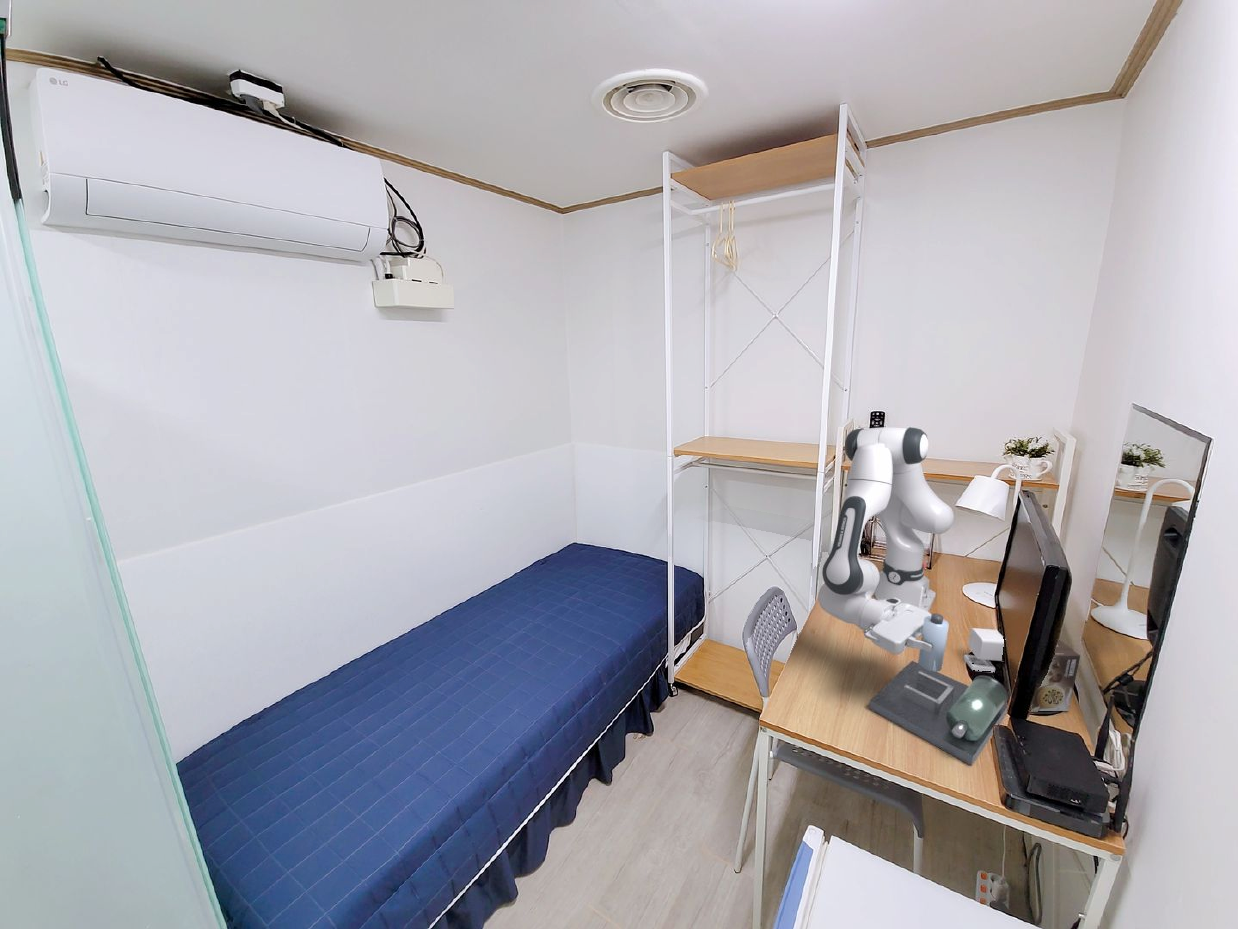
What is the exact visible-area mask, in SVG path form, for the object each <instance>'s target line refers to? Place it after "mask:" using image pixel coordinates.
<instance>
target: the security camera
mask: <svg viewBox="0 0 1238 929" xmlns="http://www.w3.org/2000/svg"><path fill="white" fill-rule="evenodd" d="M1003 637H1004V636H1003V635H1002V634H1001V633H1000V632H999V631H998V630H997V629H990V628H980V627H979V628H978V627H977V628H975V627H971V628H970V634H969V638H968V645H967V646H968V648H969V649H970V651H971V652H972V653H973V654H974V655H973V654H964V655H963V659H964V661H965V662H966V664H967V665H968V667H969V668H970V669H971V670H972V671H973V670H975V672H982V671H991V672H990V673H993V672H994V673H995V671H996V667H995V666H994V665H993V663H992V662H991V661H997V662H998V661H999V662H1003V661H1002V655H1003V647H1004V639H1003ZM972 663H974V664H972ZM978 670H979V671H978Z"/></svg>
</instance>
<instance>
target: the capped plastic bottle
mask: <svg viewBox="0 0 1238 929" xmlns="http://www.w3.org/2000/svg"><path fill="white" fill-rule="evenodd" d="M949 627H950V624H949V622H948V621H947V620H946V619H944V616H943V615H942V614H939V613H931V616H927V617H925V618H924V625H923V632H922V635H921V640H920V641H928V642H930V643H932V644H933V649H932V650H931V651H930V652H928V651H925V650H923V649H919V652H918V658H917V663H918V664H919V665H920V666H921V667H923V668H924V669H926V670H929V671H934V672H940V671H942V670H943V663H944V659H945V658H944V657H945V651H946V646H947V639H948V633H949Z"/></svg>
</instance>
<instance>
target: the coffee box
mask: <svg viewBox="0 0 1238 929" xmlns="http://www.w3.org/2000/svg"><path fill="white" fill-rule="evenodd" d="M1057 640H1058V644H1057V646H1056V649H1055V655H1054V657H1053V659H1052V662H1051V665H1050V667H1049V670H1048V673H1047V675H1046V676H1045V678H1044V680H1043V681H1042V684H1041V686H1040V687H1039V688H1038V689H1037V692H1036V696H1035V699H1034V701H1033V704H1032V705H1031V711H1029V712H1031V713H1039V712H1038V711H1066V710H1068V711H1069V710H1070V706H1071V705H1070V704H1071V700H1072V696H1073V695H1072V694H1073V691H1074V687H1075V682H1076V677H1077V674H1078V669H1079V664H1080V659H1081V655H1080V654H1079V653H1078V652H1076V651H1075V650H1074V649H1072V648H1071V647H1070V646H1069V645H1068V644H1066V643H1065V642H1063V641H1062V640H1060V639H1057Z"/></svg>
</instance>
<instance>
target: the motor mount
mask: <svg viewBox="0 0 1238 929" xmlns="http://www.w3.org/2000/svg"><path fill="white" fill-rule="evenodd" d="M1008 698H1009V694H1008V691H1007V689H1006V687H1005V686H1004V685H1003V683H1001V682H1000V681H999V680H997V679H996V678H994V677H992V676H989V675H978V676H976V677H975V678H974V679H973V680H972V681H971V682H970V684H969V685H967V684H966V683H963V682H961V681H958V680H956V679H953V678H952V677H949V676H947V675H945V674H942V673H941V672H939V671H937V672H934V671H929V670H926V669H924V668H923V667H921V666H920V665H919V664H918V662H916V661H914V660H911V661H910V662H909V663H908V664H907V665H905V667H903V669H902V670H900V671H899V672H898V673H897V674H896V675H895V677H893V678H892V679H891V680H890V681H889V682H888V683H887V684H886V685H885V686H884V687H883V688H882V689H881V690H880V691H879V692H878V693H876V694H875V695H874V696H873V698H871V699H870V700H869V709H868V710H870V711H873V713H876V714H878V715H879V716H881V717H883V718H885V719H886V720H888V721H890V722H892V723H894V724H895V725H897V726H899V727H900V728H902V729H904V730H906V731H908V732H910V733H911V734H914V735H915V736H917V737H919V738H921V739H922V740H923V741H926V742H928V743H929V744H931V745H933V746H934V747H936V748H939V749H940V748H941V750H942V749H943V750H942V751H944V752H945V753H947V754H949V755H951V756H952V757H954V758H956V759H958V760H959V761H961V760H962V762H963V761H964V762H963V763H965V764H966V765H969V766H970V767H972V766H973V764H974V763H975V761H976V759H978V757H979V756H980V754H981V753H982V751H983V749H984V748H985V747H986V745H987V744H988V742H989V741H990V739H991V738H990V737H992V736H993V735H994V733H993V726H994V725H996V724H999V725H1001V723H1002V721H1003V719H1004V718H1005V717H1006V715H1007V714H1006V711H1007V704H1008V703H1007V701H1008ZM1007 712H1008V711H1007ZM1000 722H1001V723H1000ZM992 734H993V735H992Z"/></svg>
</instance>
